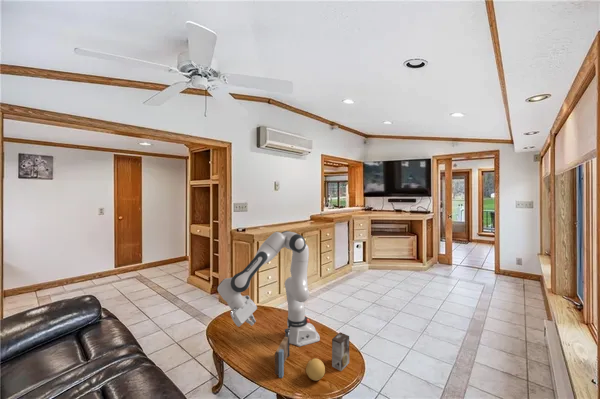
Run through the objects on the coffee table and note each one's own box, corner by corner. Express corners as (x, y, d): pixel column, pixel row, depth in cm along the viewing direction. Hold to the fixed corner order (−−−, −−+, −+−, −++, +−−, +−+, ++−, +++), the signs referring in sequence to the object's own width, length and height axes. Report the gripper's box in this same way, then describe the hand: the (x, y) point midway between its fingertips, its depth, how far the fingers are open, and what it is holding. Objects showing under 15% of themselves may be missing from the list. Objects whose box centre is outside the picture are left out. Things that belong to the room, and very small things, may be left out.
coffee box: (339, 358, 160) (340, 331, 159) (349, 363, 156) (349, 335, 155) (331, 366, 153) (331, 338, 152) (341, 371, 149) (341, 342, 148)
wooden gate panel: (284, 355, 162) (284, 336, 161) (288, 356, 161) (288, 337, 160) (274, 374, 146) (274, 353, 145) (278, 374, 145) (278, 354, 144)
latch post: (280, 374, 147) (280, 349, 146) (283, 375, 146) (283, 349, 146) (278, 377, 144) (278, 351, 144) (282, 378, 144) (282, 352, 143)
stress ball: (326, 382, 142) (326, 361, 149) (322, 377, 135) (322, 355, 143) (308, 383, 144) (308, 361, 151) (303, 377, 138) (304, 355, 145)
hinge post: (285, 353, 165) (285, 328, 164) (290, 354, 164) (290, 328, 163) (284, 356, 162) (283, 330, 161) (289, 357, 161) (289, 331, 160)
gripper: (232, 309, 145) (249, 330, 143) (249, 294, 165) (264, 312, 163) (225, 316, 146) (241, 336, 144) (243, 300, 166) (257, 318, 164)
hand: (254, 323), depth 154 cm, fingers closed
